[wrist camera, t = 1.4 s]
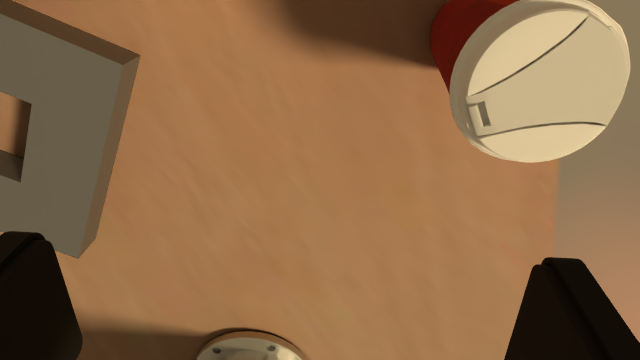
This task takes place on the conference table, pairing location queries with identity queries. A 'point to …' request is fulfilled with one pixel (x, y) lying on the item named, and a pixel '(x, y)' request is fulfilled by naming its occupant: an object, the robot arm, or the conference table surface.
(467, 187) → the conference table surface
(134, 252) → the conference table surface
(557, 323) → the robot arm
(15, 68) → the socket plate
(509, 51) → the paper cup
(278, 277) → the conference table surface
